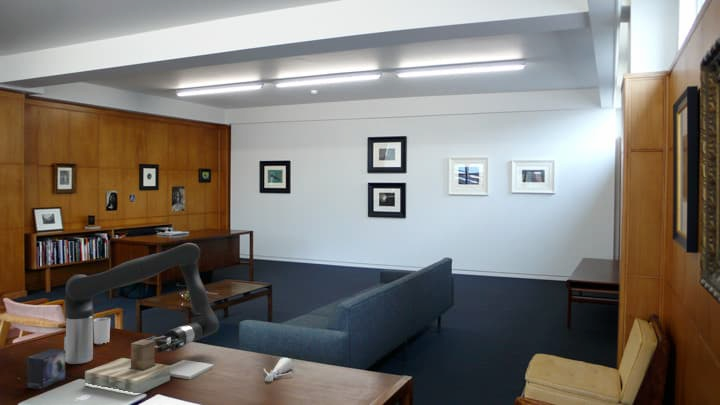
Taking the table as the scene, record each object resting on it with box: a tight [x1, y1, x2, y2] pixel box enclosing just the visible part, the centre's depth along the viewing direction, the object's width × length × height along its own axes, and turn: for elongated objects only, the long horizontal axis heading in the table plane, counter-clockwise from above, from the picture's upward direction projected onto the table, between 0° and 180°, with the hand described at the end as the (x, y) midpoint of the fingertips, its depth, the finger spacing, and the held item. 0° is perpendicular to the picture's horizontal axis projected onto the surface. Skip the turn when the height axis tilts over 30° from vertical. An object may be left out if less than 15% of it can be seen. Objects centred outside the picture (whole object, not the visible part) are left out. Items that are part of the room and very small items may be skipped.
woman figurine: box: [263, 357, 294, 383], centre depth 192 cm, size 12×4×18 cm
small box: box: [26, 348, 66, 390], centre depth 179 cm, size 11×6×10 cm, turn 168°
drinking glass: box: [93, 317, 111, 345], centre depth 227 cm, size 7×7×10 cm
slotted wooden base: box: [84, 357, 171, 394], centre depth 180 cm, size 22×16×5 cm
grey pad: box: [169, 359, 215, 380], centre depth 194 cm, size 14×14×1 cm
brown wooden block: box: [130, 338, 156, 371], centre depth 182 cm, size 5×5×12 cm
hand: (148, 348), depth 185 cm, fingers open, 8 cm apart
